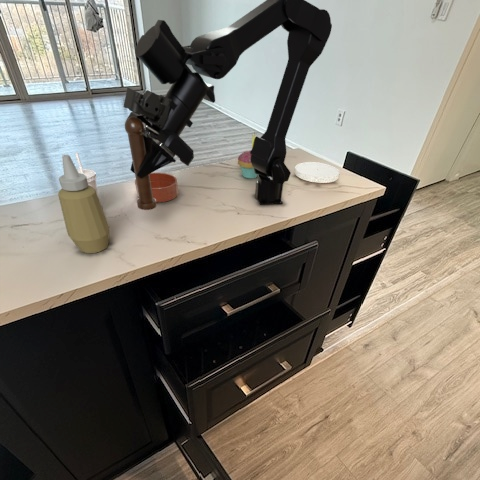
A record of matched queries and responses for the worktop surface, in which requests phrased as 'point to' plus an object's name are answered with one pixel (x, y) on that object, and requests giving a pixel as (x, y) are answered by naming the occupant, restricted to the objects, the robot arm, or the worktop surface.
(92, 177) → the smoothie
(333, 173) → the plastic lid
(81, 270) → the worktop surface
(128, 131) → the muddler
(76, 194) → the squeeze bottle
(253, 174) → the cupcake
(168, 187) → the bowl
